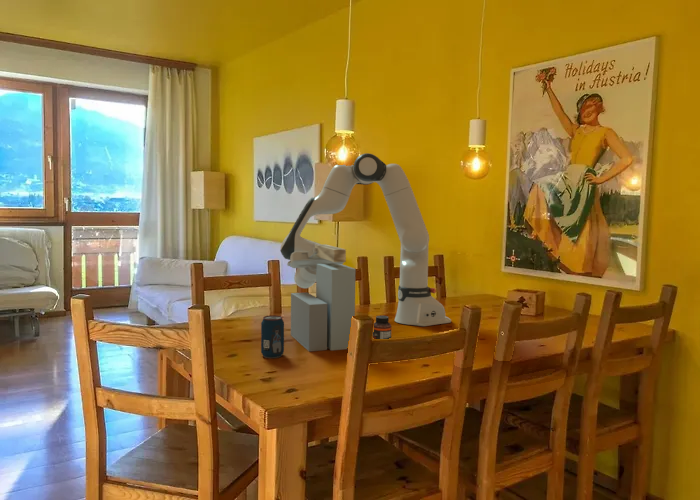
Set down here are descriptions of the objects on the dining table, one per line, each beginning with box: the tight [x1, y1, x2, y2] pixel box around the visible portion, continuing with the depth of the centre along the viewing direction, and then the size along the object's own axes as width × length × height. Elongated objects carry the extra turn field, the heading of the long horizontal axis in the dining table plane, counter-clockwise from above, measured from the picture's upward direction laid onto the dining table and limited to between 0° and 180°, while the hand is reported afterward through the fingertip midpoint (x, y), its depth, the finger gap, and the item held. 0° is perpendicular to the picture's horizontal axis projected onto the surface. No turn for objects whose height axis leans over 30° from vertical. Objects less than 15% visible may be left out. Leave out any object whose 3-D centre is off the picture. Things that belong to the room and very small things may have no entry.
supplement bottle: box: [372, 315, 392, 339], centre depth 177 cm, size 6×6×11 cm
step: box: [290, 292, 328, 352], centre depth 187 cm, size 6×22×15 cm, turn 21°
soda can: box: [260, 314, 285, 359], centre depth 170 cm, size 7×7×12 cm
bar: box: [315, 243, 347, 263], centre depth 189 cm, size 4×20×4 cm, turn 21°
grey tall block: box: [315, 263, 357, 351], centre depth 185 cm, size 8×16×26 cm, turn 21°
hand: (323, 249), depth 195 cm, fingers closed on bar, 4 cm apart
